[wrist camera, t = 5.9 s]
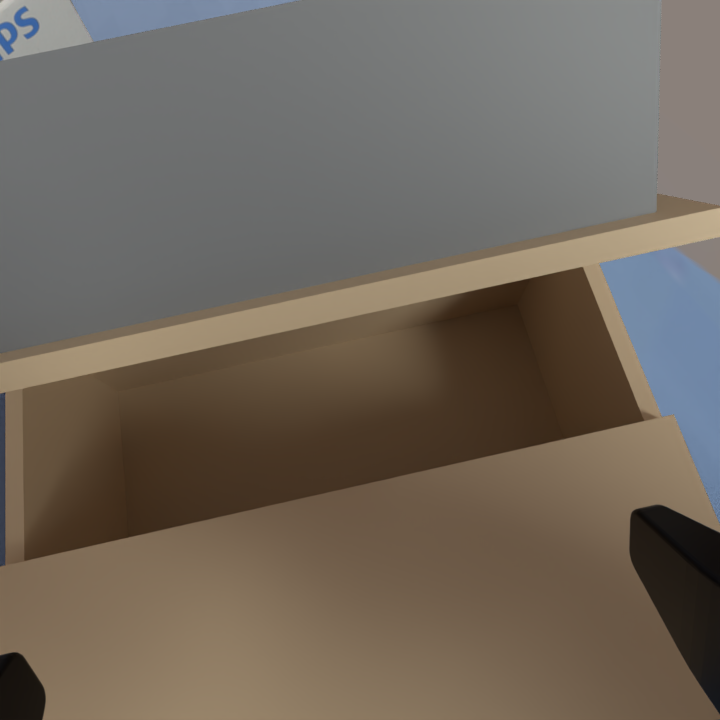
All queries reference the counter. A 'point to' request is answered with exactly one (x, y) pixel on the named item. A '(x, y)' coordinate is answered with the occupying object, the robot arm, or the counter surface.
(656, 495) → the carton
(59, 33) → the light bulb box
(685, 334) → the counter surface
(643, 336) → the counter surface
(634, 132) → the grey stone
